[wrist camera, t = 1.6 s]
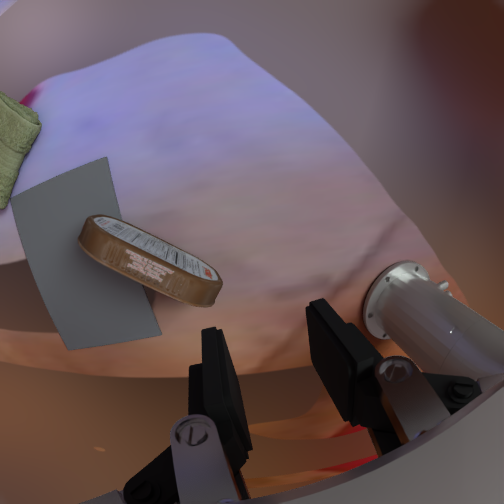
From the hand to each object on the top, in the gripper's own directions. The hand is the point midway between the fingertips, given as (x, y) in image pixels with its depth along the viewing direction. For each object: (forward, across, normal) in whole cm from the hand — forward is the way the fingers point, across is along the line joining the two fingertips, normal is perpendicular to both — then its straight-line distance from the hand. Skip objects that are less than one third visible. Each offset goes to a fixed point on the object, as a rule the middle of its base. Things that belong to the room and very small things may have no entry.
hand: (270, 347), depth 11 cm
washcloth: (+21, +28, -20) cm, 40 cm away
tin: (+21, +8, 0) cm, 23 cm away
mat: (+21, +18, 0) cm, 28 cm away
